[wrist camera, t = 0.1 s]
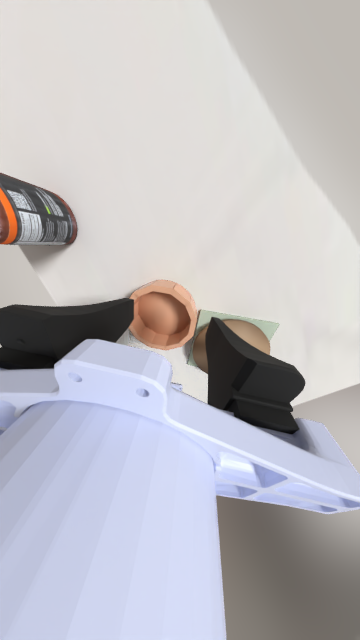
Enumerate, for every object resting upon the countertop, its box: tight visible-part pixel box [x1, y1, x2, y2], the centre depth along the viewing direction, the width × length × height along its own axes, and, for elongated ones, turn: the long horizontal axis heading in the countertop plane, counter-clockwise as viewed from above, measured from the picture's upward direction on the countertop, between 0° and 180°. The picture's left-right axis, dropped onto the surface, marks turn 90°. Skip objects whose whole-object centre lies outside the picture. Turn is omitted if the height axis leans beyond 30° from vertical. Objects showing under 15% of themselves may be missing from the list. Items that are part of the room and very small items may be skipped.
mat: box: [188, 310, 280, 367], centre depth 25 cm, size 13×13×1 cm
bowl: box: [129, 280, 197, 350], centre depth 22 cm, size 11×11×4 cm
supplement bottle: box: [0, 173, 77, 246], centre depth 13 cm, size 6×6×11 cm
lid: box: [193, 319, 270, 374], centre depth 22 cm, size 13×13×6 cm
